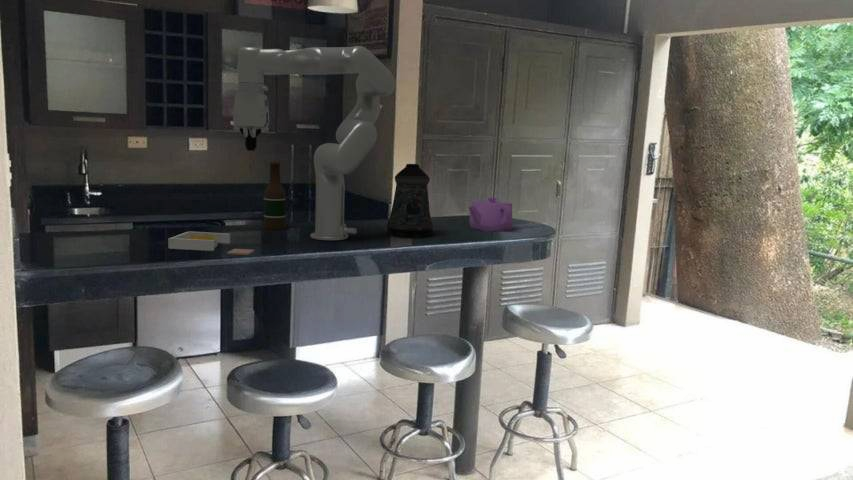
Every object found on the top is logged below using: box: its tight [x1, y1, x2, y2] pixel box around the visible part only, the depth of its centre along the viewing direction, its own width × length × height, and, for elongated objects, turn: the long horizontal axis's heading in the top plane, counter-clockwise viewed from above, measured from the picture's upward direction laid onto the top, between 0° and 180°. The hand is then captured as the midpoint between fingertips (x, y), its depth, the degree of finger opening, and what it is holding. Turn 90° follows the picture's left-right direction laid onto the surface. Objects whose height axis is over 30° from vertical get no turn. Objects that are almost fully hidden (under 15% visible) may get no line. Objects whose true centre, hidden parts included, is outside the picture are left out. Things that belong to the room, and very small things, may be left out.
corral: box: [167, 231, 231, 252], centre depth 213 cm, size 14×14×3 cm
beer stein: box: [386, 163, 434, 239], centre depth 249 cm, size 16×19×25 cm
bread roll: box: [188, 235, 219, 249], centre depth 211 cm, size 8×9×4 cm
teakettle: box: [468, 196, 513, 233], centre depth 272 cm, size 17×17×12 cm
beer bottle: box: [263, 160, 287, 231], centre depth 250 cm, size 8×8×24 cm
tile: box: [226, 248, 255, 256], centre depth 204 cm, size 6×6×1 cm
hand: (251, 150), depth 215 cm, fingers closed
